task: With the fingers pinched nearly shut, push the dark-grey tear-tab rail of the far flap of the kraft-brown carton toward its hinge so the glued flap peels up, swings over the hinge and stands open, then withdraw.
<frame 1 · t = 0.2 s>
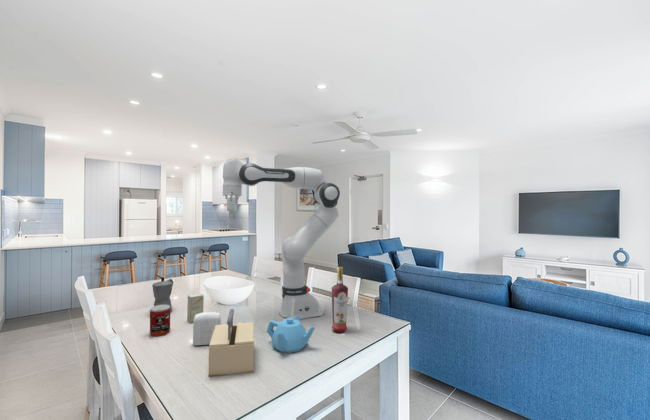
hand: (232, 220, 146), 48 cm above the table, fingers open, 8 cm apart
far flap: (223, 325, 105), point 13 cm above the table, hinge at 0.0°
teapot: (290, 346, 118), on the table
canned food: (160, 333, 129), on the table
liquor: (339, 331, 133), on the table
photo printer: (206, 344, 119), on the table
carton: (233, 360, 106), on the table
skincare box: (195, 320, 143), on the table
coffeepot: (163, 312, 154), on the table
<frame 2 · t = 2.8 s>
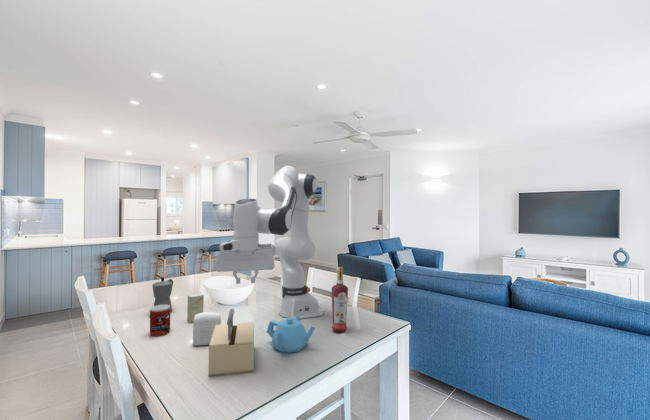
hand: (245, 283, 107), 27 cm above the table, fingers open, 4 cm apart
nothing on the table moved.
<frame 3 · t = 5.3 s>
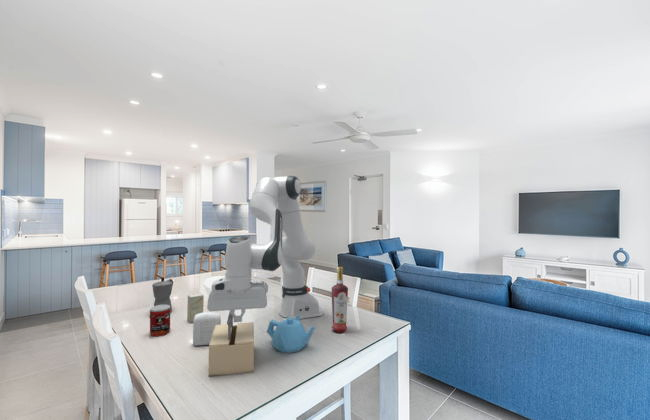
hand: (237, 321, 106), 14 cm above the table, fingers closed
far flap: (223, 325, 105), point 13 cm above the table, hinge at 0.0°, touching gripper
everything else where it was.
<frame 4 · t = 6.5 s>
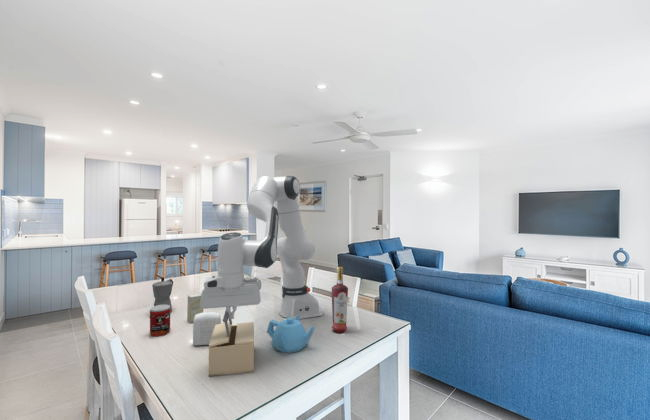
hand: (231, 318, 106), 15 cm above the table, fingers closed, pressing on far flap
far flap: (220, 323, 105), point 13 cm above the table, hinge at 10.5°, touching gripper
everything else where it was.
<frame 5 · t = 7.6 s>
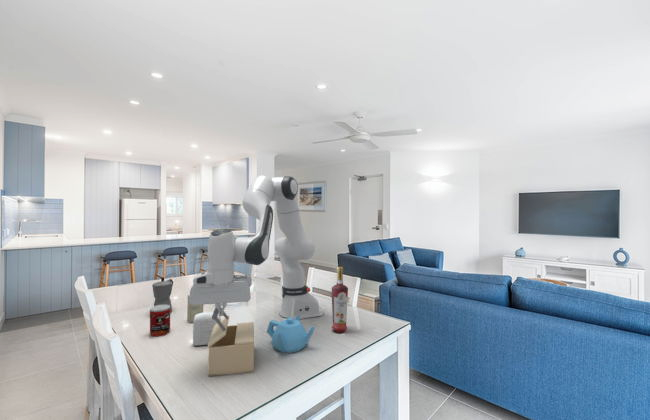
hand: (220, 315, 105), 16 cm above the table, fingers closed, pressing on far flap
far flap: (214, 322, 104), point 14 cm above the table, hinge at 34.6°, touching gripper
everything else where it was.
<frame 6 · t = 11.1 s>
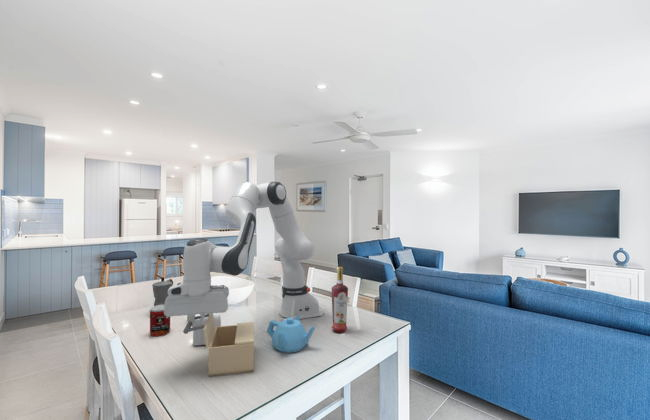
hand: (197, 326, 103), 13 cm above the table, fingers closed
far flap: (199, 329, 103), point 12 cm above the table, hinge at 99.3°
everything else where it was.
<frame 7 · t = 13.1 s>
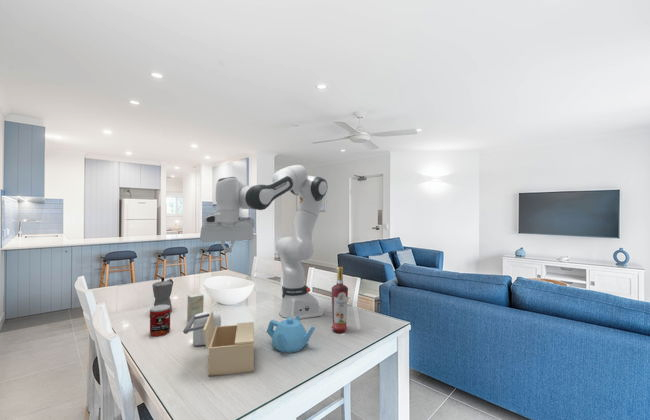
hand: (227, 252, 119), 36 cm above the table, fingers closed
nothing on the table moved.
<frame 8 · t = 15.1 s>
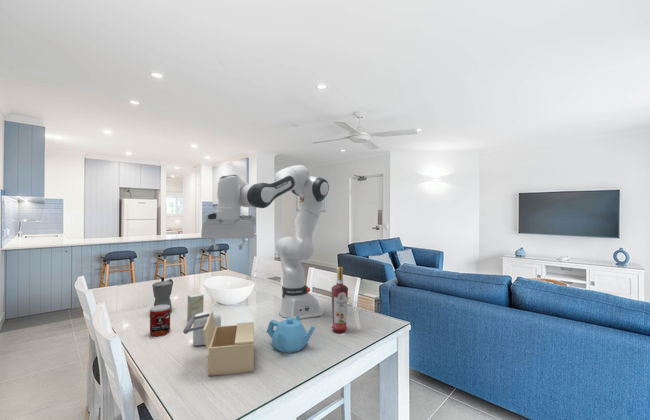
hand: (228, 249, 120), 37 cm above the table, fingers open, 8 cm apart
nothing on the table moved.
at the end: far flap at +99° (first picture: +0°); the gripper is holding nothing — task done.
